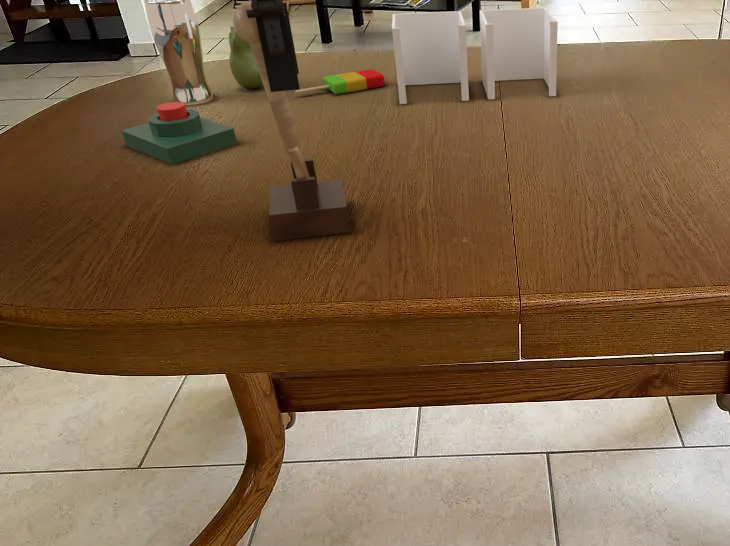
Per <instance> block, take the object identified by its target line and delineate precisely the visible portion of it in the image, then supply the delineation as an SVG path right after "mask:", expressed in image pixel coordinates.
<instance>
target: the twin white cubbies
mask: <svg viewBox="0 0 730 546" xmlns="http://www.w3.org/2000/svg"><path fill="white" fill-rule="evenodd" d="M391 18H392V19H391V34H392V43H393V52H394V59H395V60H394V62H395V63H394V64H395V71H396V83H397V90H398V91H397V92H398V100H399V101H398V102H399V105H407V104H408V100H407V99H408V98H407V92H406V91H407V90H406V89H407V88H406V86H419V85H437V84H439V85H440V84H458V83H460V89H461V91H460V92H461V101H462V102H463V101H464V102H469V101H470V92H469V91H470V90H469V69H468V52H467V51H468V50H467V49H468V48H467V28H466V23H465V20H464V16H463V14H462V10H453V11H429V12H427V11H426V12H407V13H392V17H391ZM558 23H559V22H558V20H557V19H556V17H555V16H554V15H553V14H552V12H551V11H550V10H549V9H548V8H547V7H526V8H525V7H524V8H504V9H503V8H501V9H499V8H498V9H480V10H479V31H480V32H479V33H480V57H481V58H480V60H481V82H482V85H483V87H484V91H485V94H486V98H487V100H496V84H495V83H496V82H498V81H499V82H500V81H501V82H502V81H518V80H519V81H521V80H538V79H539V80H541V79H543V80H544V81H545V83H546V85H547V87H548V97H557V76H558V75H557V68H558Z"/></svg>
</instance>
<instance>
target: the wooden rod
mask: <svg viewBox="0 0 730 546" xmlns="http://www.w3.org/2000/svg"><path fill="white" fill-rule="evenodd" d="M251 2H252V1H246V2H243V3H241V4H240V5H238V6H237V7H236V8H235V10H234V12H233V15H232V27H234V29H235V31H236V33H237V34H238V36H239V37H240V38H241V39H243V40H244V41H246V42H248V43H250V46H251V49H252V52H253V55H254V58H255V61H256V64H257V67H258V70H259V73H260V76H261V79H262V82H263V85H262V86H263V87H264V91H265V93H266V96H267V100H268V102H269V105H270V109H271V111H272V115H273V117H274V120H275V123H276V126H277V127H276V128H277V129H278V132H279V135H280V138H281V142H282V144H283V147H284V150H285V153H286V154H287V155H289V159H290V162H291V161H292V164H293V167H294V170H295V173H296V176H297V178H306V177H310V176H309V173H308V170H307V167H306V163H305V160H304V159H305V157H304V154H303V151H304V145H303V143H302V139H301V136H300V134H299V132H298V127H297V125H296V122H295V118H294V116H293V113H292V108H291V106H290V103H289V99H288V96H287V93H286V91H278V92H271V90H270V86H269V81H268V76H267V71H266V66H265V61H264V57H263V52H262V47H261V42H260V37H259V32H258V28H257V23H256V18H248V17H247V13H246V10H253V9H252V8H251Z"/></svg>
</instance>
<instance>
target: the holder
mask: <svg viewBox="0 0 730 546" xmlns="http://www.w3.org/2000/svg"><path fill="white" fill-rule="evenodd" d="M304 160H305V163H306V167H307V170H308V173H309V176H310V177H306V178H297V176H296V173H295V170H294V167H293V164H292V161H291V160H290V167H291V172H292V177H293V178H290V184H282V185H272V186H271V185H270V186H269V202H268V203H269V206H268V217H269V218H268V219H269V222H270V226H271V232H272V235H273V239H274V242H282V241H291V240H298V239H299V240H300V239H308V238H316V237H323V236H333V235H334V236H335V235H341V234H342V235H343V234H348V233H349V234H350V233H352V230H351V223H350V218H349V212H348V207H347V200H346V199H347V198H346V193H345V188H344V179H343V178H338V179H328V180H318V178H317V173H316V167H315V161H314V158H312V157H310V158H304Z"/></svg>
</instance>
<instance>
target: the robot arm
mask: <svg viewBox="0 0 730 546" xmlns="http://www.w3.org/2000/svg"><path fill="white" fill-rule="evenodd" d="M286 1H288V0H251V1H250V2H251V8H252V9H253V10H246V13H247V17H248V18H256V23H257V28H258V32H259V37H260V42H261V47H262V52H263V57H264V61H265V66H266V71H267V76H268V81H269V86H270V90H271V92H278V91H285V92H288V91H295V90H301V88H300V82H299V81H300V80H299V77H298V75H300V71H299V66H298V60H297V54H296V50H295V44H294V37H293V31H292V27H291V22H290V15H289V10H288V5H287V2H286Z"/></svg>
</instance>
